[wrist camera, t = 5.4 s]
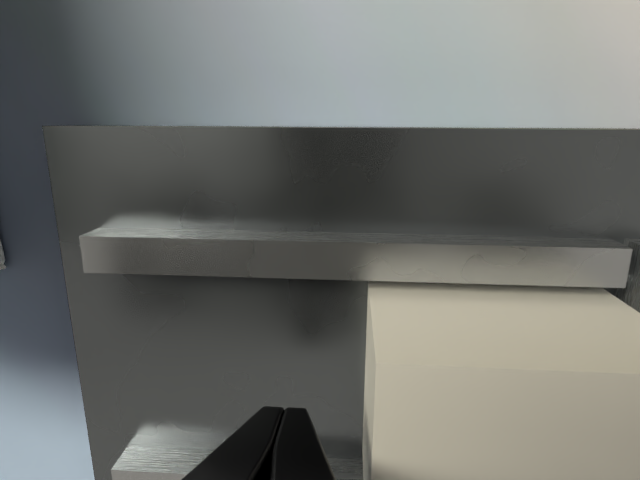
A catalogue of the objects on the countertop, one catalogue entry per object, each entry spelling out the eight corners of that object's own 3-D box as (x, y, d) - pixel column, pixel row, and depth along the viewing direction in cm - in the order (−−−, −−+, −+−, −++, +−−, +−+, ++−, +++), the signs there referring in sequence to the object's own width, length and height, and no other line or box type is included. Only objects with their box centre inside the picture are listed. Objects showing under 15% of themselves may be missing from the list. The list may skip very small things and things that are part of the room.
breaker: (602, 288, 10) (736, 377, 6) (572, 460, 11) (672, 616, 7) (368, 281, 10) (375, 363, 7) (362, 449, 11) (366, 592, 8)
